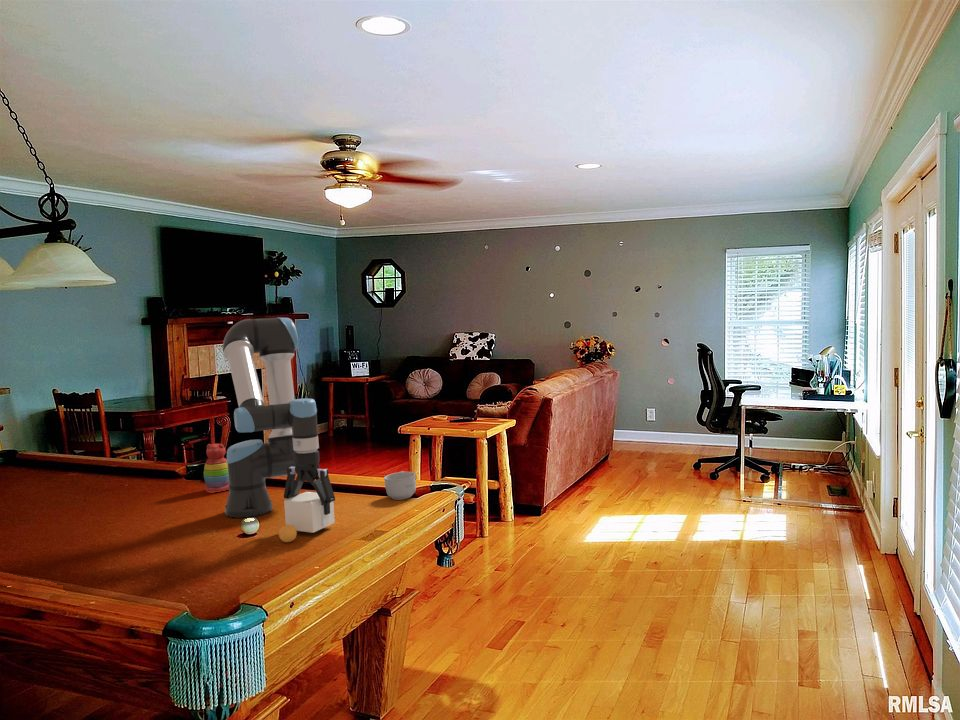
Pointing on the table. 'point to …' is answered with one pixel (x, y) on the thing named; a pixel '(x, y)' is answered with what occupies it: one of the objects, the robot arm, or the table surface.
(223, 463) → the stacking bear
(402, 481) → the teacup
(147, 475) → the table surface
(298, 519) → the white gift box
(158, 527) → the table surface
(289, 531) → the ball
